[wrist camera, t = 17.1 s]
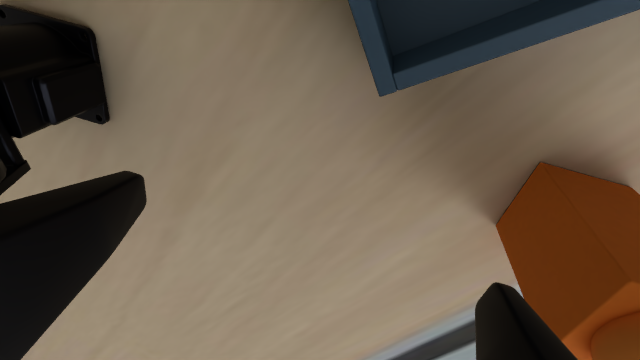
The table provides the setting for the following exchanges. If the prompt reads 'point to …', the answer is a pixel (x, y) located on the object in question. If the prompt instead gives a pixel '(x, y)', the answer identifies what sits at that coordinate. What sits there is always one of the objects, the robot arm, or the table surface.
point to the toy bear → (578, 259)
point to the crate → (463, 32)
